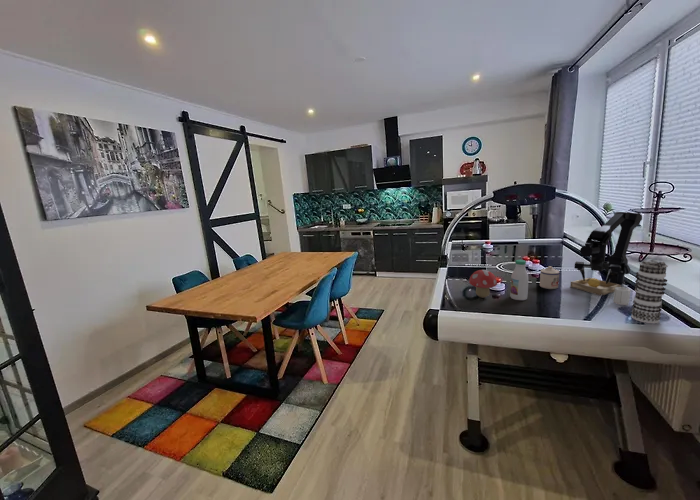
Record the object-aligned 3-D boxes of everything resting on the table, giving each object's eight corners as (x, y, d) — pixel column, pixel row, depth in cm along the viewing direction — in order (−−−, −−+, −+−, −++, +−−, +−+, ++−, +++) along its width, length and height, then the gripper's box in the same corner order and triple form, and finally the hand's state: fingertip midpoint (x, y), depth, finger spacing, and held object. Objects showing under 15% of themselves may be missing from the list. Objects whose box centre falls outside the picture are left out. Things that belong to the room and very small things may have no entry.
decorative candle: (624, 313, 129) (632, 258, 124) (651, 314, 126) (660, 258, 121) (638, 322, 120) (646, 263, 115) (666, 324, 117) (677, 263, 112)
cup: (617, 300, 142) (619, 286, 141) (631, 303, 138) (633, 289, 136) (610, 302, 141) (612, 288, 139) (623, 305, 136) (625, 291, 134)
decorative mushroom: (499, 302, 149) (501, 273, 145) (471, 302, 151) (472, 274, 148) (492, 293, 161) (493, 266, 158) (466, 292, 164) (467, 266, 161)
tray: (588, 282, 168) (589, 277, 167) (619, 290, 154) (620, 284, 153) (570, 286, 163) (570, 281, 162) (600, 295, 149) (601, 289, 149)
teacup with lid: (553, 290, 159) (555, 269, 157) (536, 286, 167) (537, 266, 165) (564, 285, 166) (565, 265, 163) (546, 281, 173) (547, 262, 171)
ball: (591, 279, 162) (590, 275, 159) (602, 283, 158) (601, 279, 155) (586, 286, 162) (585, 282, 159) (597, 290, 158) (596, 286, 155)
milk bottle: (525, 295, 155) (527, 258, 151) (528, 301, 148) (531, 262, 144) (508, 294, 157) (510, 258, 153) (511, 300, 150) (513, 262, 146)
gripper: (575, 255, 154) (572, 283, 157) (623, 259, 143) (619, 289, 146) (576, 251, 163) (573, 278, 166) (621, 254, 151) (618, 283, 154)
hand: (595, 282), depth 158 cm, fingers open, 9 cm apart
